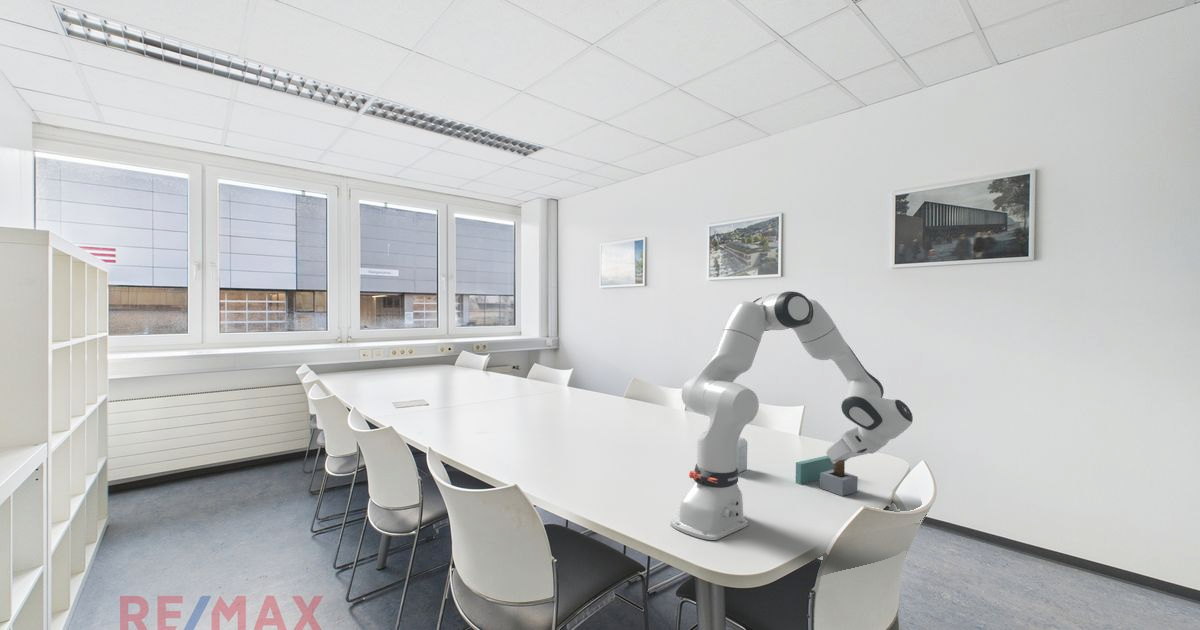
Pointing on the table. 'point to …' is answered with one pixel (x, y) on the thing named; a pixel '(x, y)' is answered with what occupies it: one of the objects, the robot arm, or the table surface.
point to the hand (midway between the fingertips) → (837, 460)
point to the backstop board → (812, 469)
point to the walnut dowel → (839, 468)
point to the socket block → (838, 483)
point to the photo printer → (742, 454)
